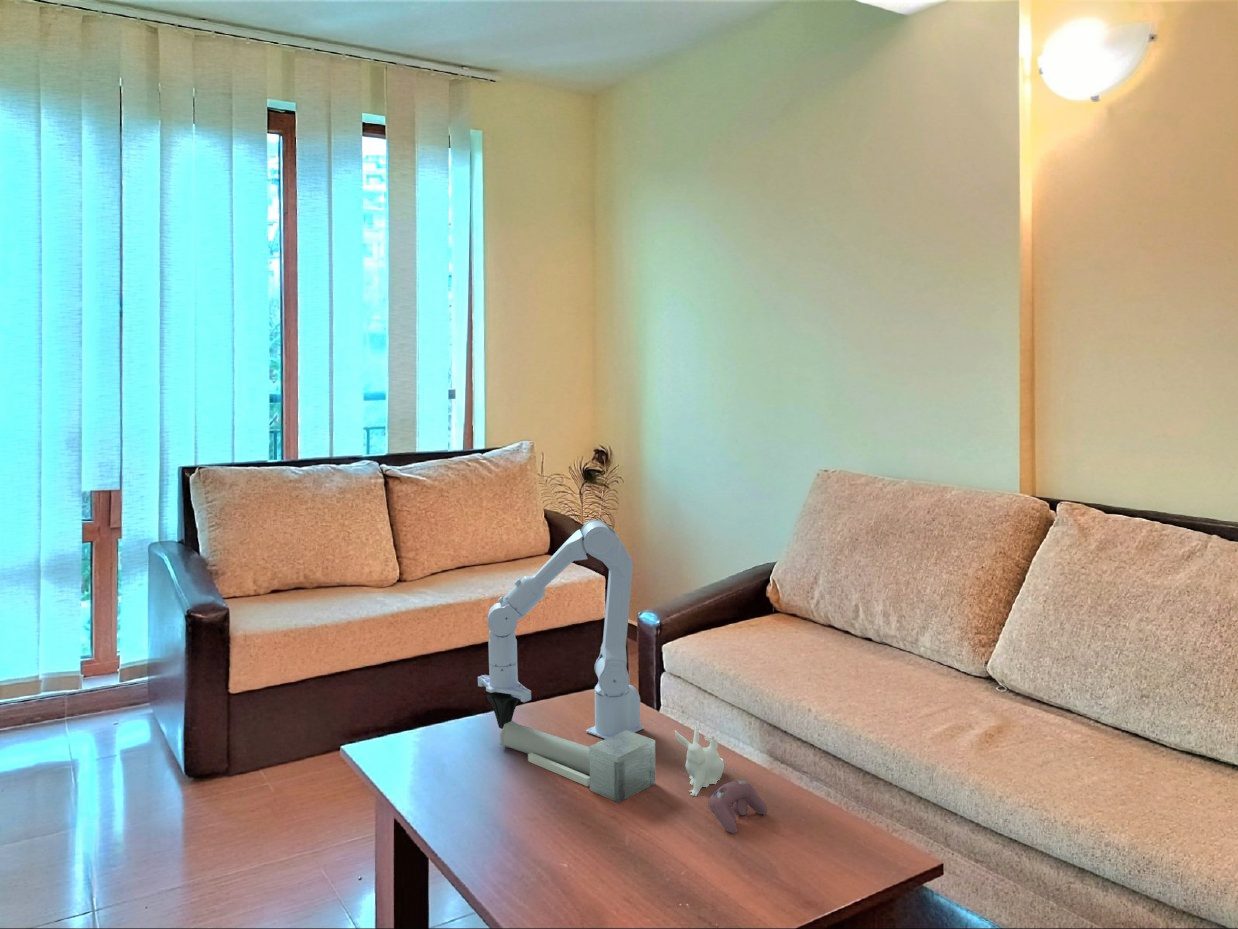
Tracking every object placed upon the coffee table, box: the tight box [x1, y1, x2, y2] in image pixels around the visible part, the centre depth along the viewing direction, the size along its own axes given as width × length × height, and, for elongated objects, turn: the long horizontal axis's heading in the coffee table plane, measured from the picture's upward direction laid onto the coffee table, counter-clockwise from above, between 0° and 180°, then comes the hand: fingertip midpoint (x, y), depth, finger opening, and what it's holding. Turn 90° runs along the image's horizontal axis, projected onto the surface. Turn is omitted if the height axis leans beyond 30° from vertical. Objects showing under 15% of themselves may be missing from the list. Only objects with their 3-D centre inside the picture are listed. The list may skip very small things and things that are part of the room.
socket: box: [588, 730, 656, 804], centre depth 161 cm, size 10×7×8 cm
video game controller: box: [708, 780, 768, 834], centre depth 150 cm, size 10×5×7 cm, turn 135°
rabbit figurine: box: [674, 725, 725, 797], centre depth 164 cm, size 12×8×10 cm, turn 138°
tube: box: [499, 720, 590, 776], centre depth 173 cm, size 5×5×25 cm
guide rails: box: [527, 753, 590, 787], centre depth 170 cm, size 8×16×1 cm, turn 47°
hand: (504, 727), depth 184 cm, fingers closed
